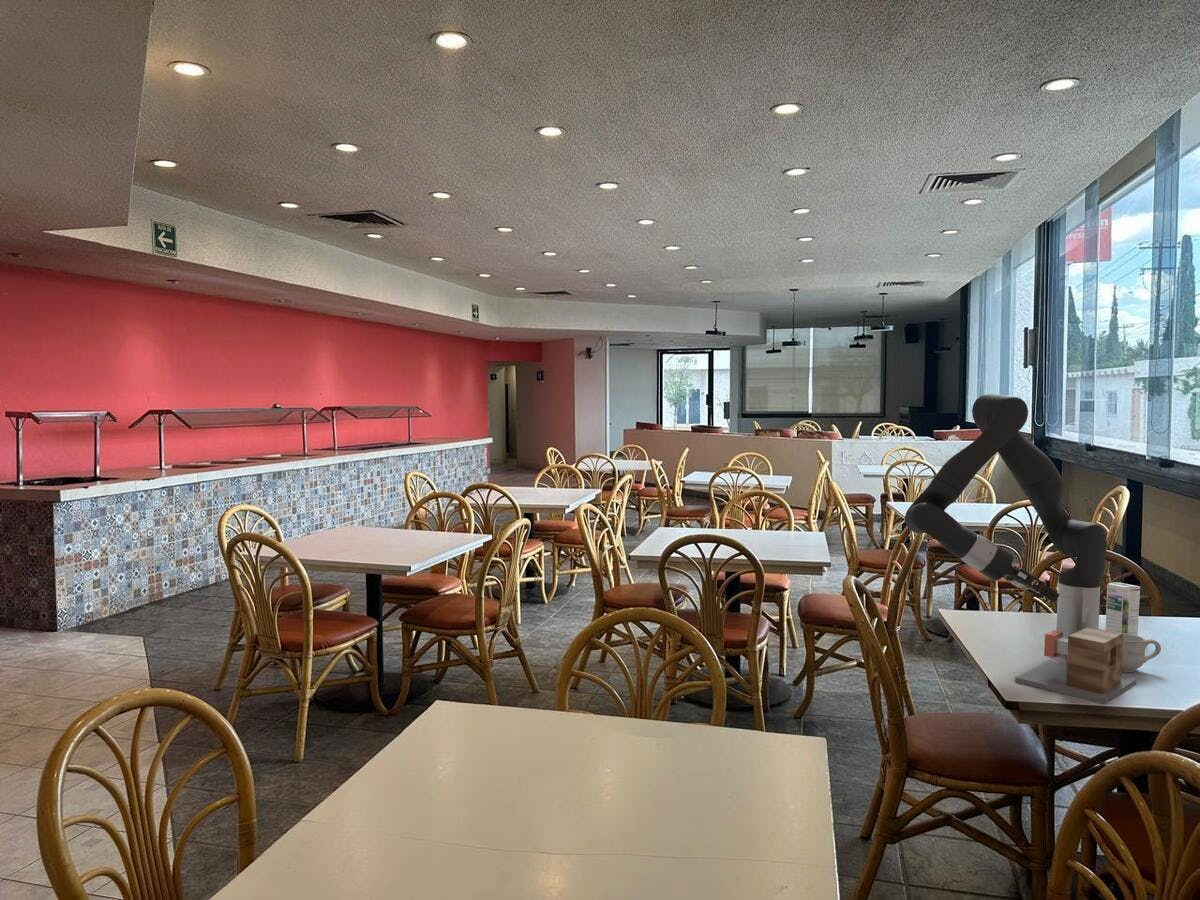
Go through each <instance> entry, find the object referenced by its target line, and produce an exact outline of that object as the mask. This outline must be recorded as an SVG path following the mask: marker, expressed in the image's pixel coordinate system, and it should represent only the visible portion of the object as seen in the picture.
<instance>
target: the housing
mask: <svg viewBox="0 0 1200 900" xmlns="http://www.w3.org/2000/svg"><path fill="white" fill-rule="evenodd" d="M1122 649H1123V633H1118V632H1113V631H1108V630H1105V629H1102V628H1098V629H1097V628H1092V627H1087V628H1084V629H1082V630H1080V631H1078V632H1076V633H1074V634H1071V635H1069V636H1068V655H1066V656H1067V658H1066V659H1067V660H1066V664H1067V679H1066V686H1070V687H1074V688H1078V689H1082V690H1087V691H1091V692H1095V693H1099V694H1103V693H1105V692H1106V691H1108V690H1110V689H1111V688H1113V687H1114V686H1116V685H1118V684H1119V683H1121V676H1122V672H1123V671H1122Z"/></svg>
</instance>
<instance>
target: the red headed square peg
mask: <svg viewBox="0 0 1200 900" xmlns="http://www.w3.org/2000/svg"><path fill="white" fill-rule="evenodd" d="M1043 652H1044V653H1043V657H1047V658H1052V659H1055V658H1057V657H1059V656H1060V655H1065V656H1067V655H1068V639H1067V638H1063V632H1060V631H1056V629H1055V630H1054V629H1053V630H1051V631H1049V632H1047V633H1044V650H1043Z"/></svg>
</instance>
